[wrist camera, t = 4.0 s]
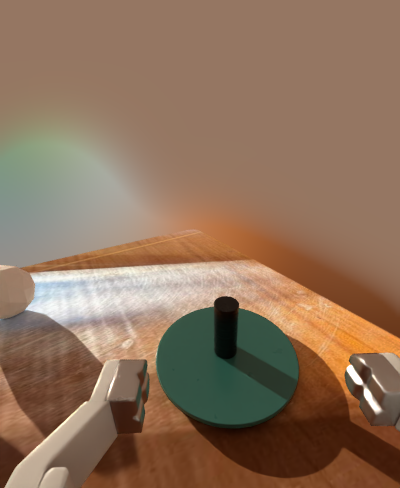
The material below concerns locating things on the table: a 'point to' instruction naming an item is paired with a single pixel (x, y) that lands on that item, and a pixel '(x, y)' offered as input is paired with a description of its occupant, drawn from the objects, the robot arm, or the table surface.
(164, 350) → the lid
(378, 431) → the table surface
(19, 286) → the ornament
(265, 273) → the table surface
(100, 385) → the robot arm
